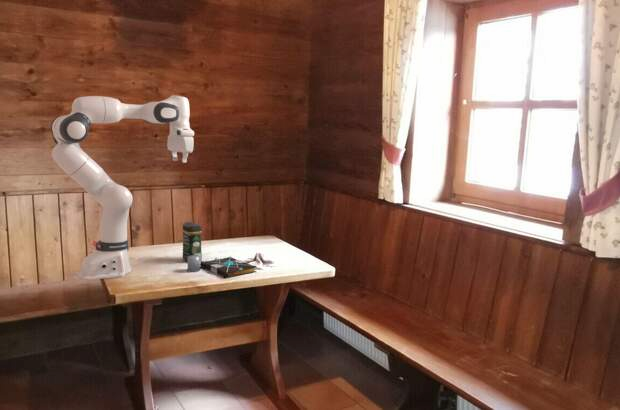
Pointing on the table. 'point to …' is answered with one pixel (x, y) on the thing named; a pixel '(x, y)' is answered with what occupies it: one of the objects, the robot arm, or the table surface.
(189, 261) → the grey short cylinder
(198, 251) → the coffee jar
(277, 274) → the table surface
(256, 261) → the cloth
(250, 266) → the book
